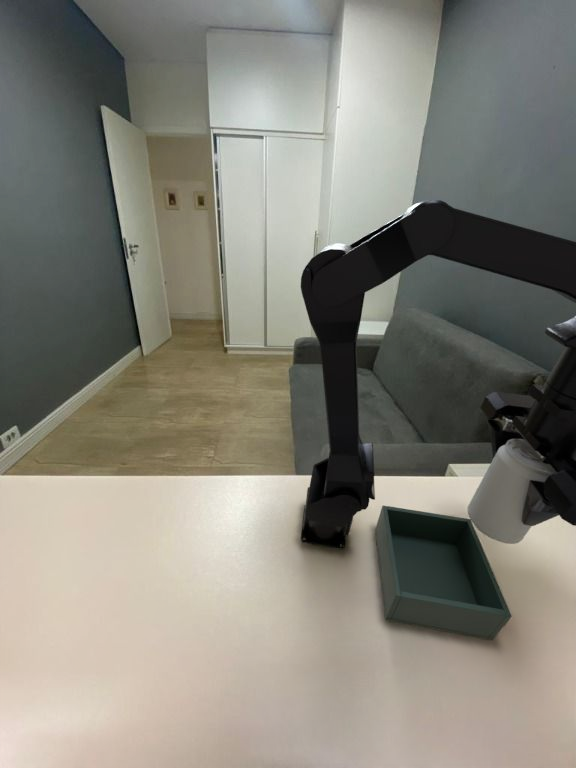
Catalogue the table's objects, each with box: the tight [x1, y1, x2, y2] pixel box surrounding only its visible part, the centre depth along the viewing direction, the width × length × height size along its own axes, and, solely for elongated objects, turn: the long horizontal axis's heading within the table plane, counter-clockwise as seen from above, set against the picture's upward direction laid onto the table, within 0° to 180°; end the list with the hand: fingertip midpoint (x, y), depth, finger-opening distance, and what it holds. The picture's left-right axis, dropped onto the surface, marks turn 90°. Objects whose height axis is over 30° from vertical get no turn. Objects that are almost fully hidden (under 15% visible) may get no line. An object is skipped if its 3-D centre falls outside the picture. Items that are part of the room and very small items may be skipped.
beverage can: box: [467, 439, 557, 545], centre depth 37 cm, size 6×6×12 cm
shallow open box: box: [374, 505, 513, 641], centre depth 40 cm, size 12×12×6 cm
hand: (512, 500), depth 38 cm, fingers closed on beverage can, 6 cm apart
